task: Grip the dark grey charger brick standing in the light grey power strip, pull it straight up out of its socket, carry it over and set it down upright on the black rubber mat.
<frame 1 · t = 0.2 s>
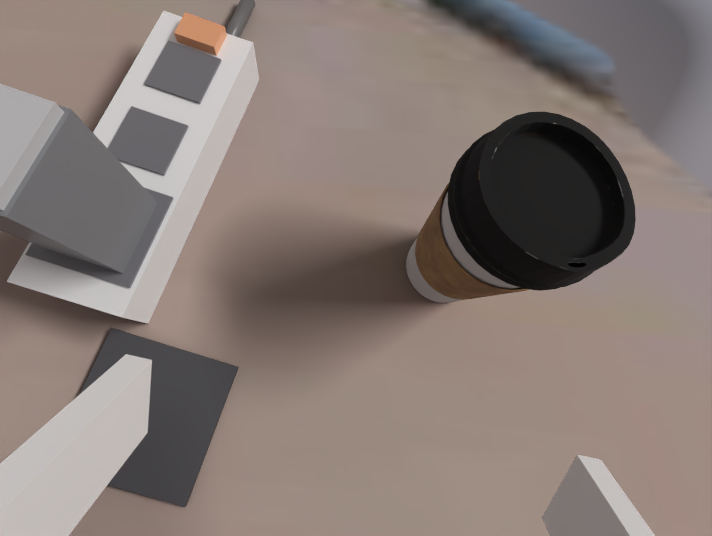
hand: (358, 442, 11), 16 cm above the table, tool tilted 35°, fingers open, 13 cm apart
coffee cup: (439, 267, 31), on the table
power strip: (166, 175, 29), on the table
mat: (149, 413, 25), on the table
charger: (102, 224, 24), point 4 cm above the table, touching power strip
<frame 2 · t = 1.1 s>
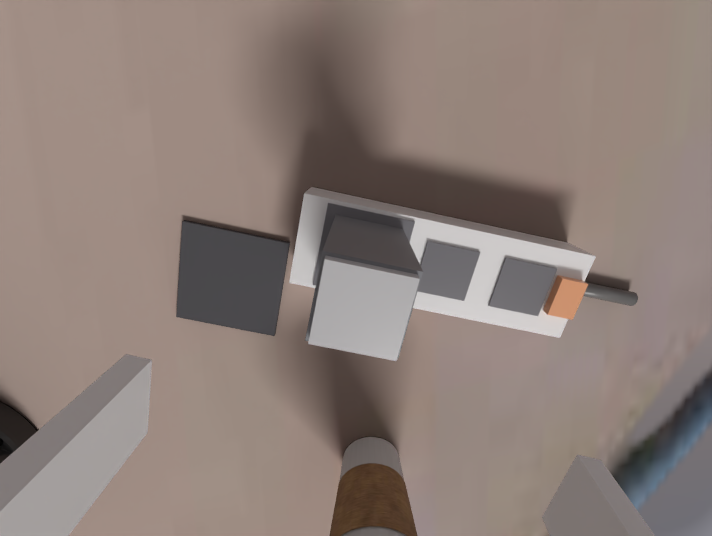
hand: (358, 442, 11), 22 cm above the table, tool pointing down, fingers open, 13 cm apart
coffee cup: (371, 457, 40), on the table
power strip: (430, 254, 32), on the table
mat: (232, 279, 33), on the table
charger: (362, 254, 28), point 4 cm above the table, touching power strip
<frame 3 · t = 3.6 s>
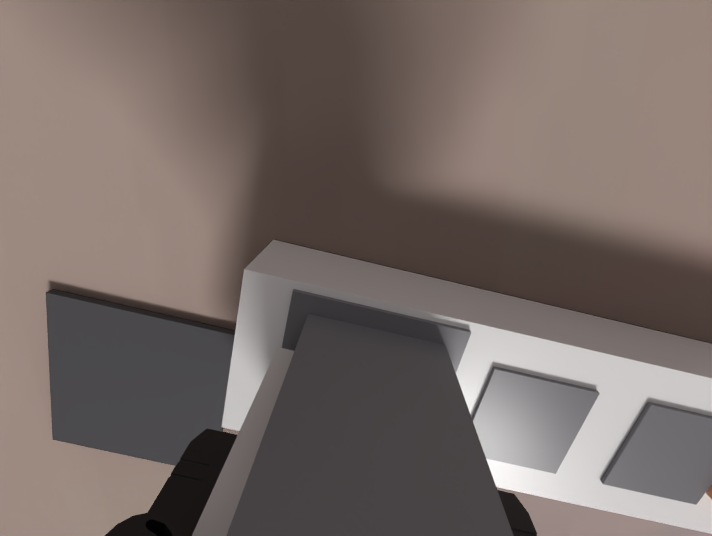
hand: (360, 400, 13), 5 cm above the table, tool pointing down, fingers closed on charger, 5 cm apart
power strip: (483, 359, 18), on the table
mat: (141, 386, 20), on the table
charger: (360, 387, 14), point 4 cm above the table, touching gripper, power strip
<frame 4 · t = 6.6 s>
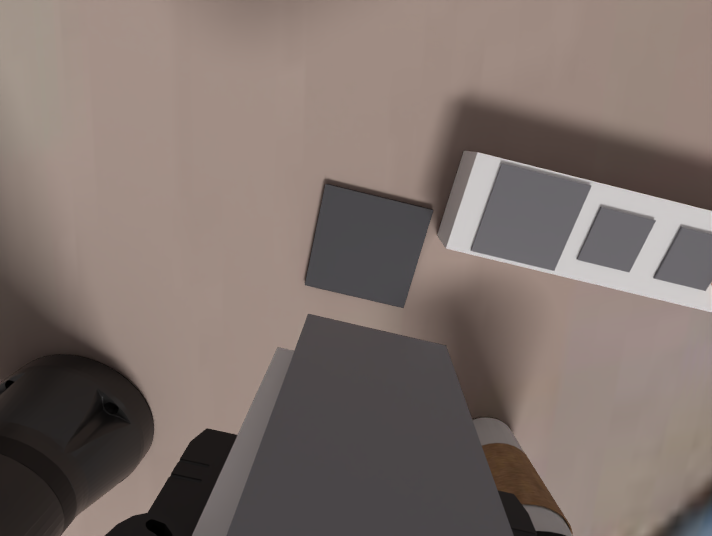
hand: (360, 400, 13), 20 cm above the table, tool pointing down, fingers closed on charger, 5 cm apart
coffee cup: (482, 439, 38), on the table
power strip: (578, 226, 31), on the table
mat: (366, 247, 32), on the table
charger: (360, 387, 14), point 19 cm above the table, touching gripper
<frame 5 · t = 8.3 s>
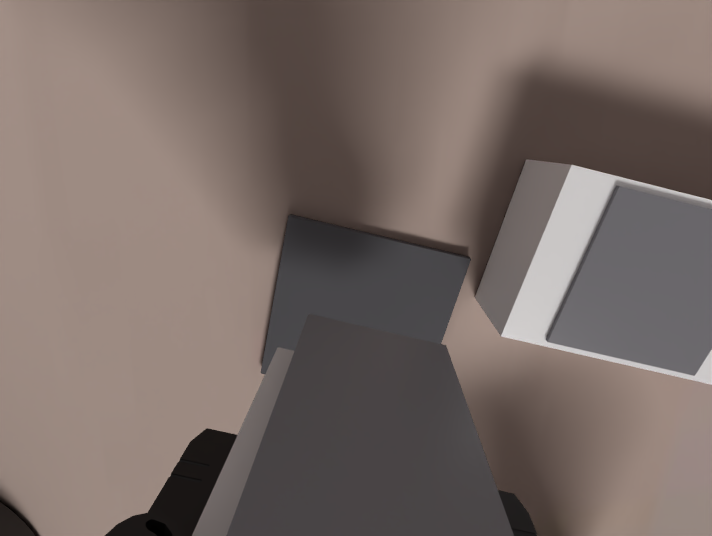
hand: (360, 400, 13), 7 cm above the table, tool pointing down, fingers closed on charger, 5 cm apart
power strip: (711, 284, 18), on the table
mat: (359, 316, 20), on the table
charger: (361, 387, 14), point 6 cm above the table, touching gripper
when the fingers open (2 cm above the table, at t = 9.8 s): charger drops 1 cm, resting on mat.
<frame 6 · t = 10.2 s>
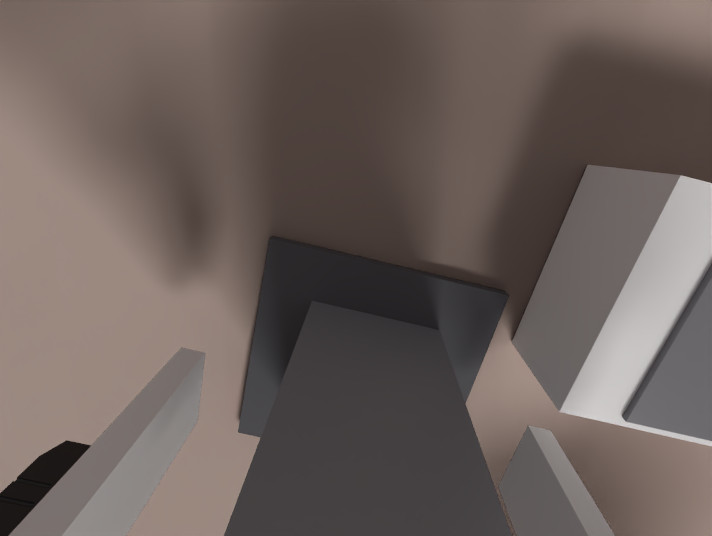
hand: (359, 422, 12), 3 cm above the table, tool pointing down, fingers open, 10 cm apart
mat: (362, 364, 15), on the table
charger: (360, 369, 15), resting on mat
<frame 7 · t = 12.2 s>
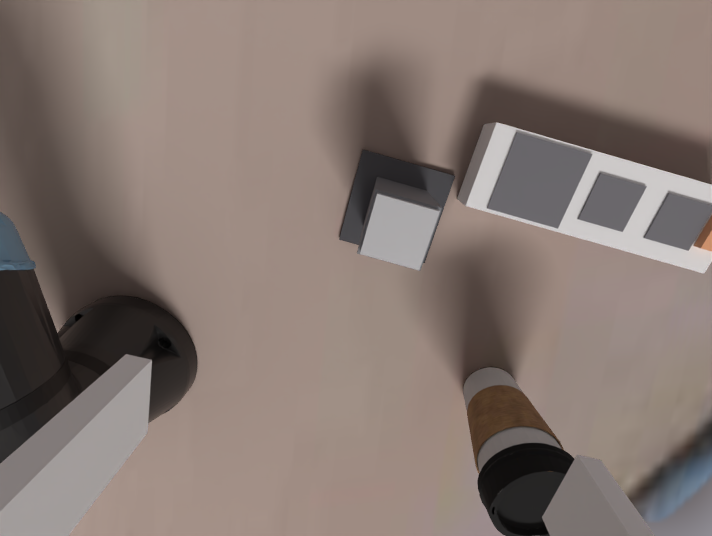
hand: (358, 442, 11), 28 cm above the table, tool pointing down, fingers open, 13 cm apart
coffee cup: (488, 387, 43), on the table
power strip: (581, 194, 35), on the table
mat: (394, 208, 37), on the table
charger: (394, 208, 36), resting on mat
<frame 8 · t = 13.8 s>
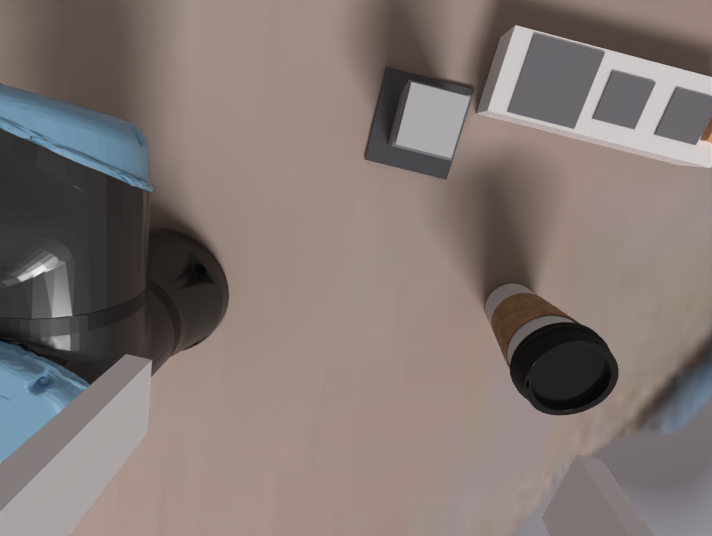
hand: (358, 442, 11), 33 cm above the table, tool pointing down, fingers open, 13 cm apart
coffee cup: (509, 305, 45), on the table
power strip: (592, 103, 37), on the table
mat: (417, 125, 39), on the table
charger: (417, 125, 38), resting on mat
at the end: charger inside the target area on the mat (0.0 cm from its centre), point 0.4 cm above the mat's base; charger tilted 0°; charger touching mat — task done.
